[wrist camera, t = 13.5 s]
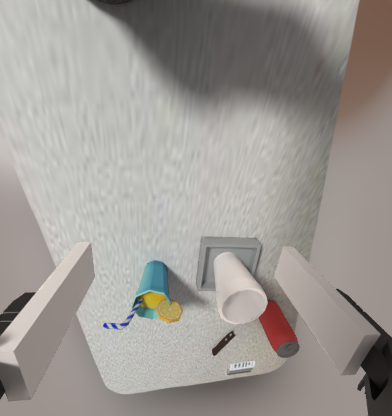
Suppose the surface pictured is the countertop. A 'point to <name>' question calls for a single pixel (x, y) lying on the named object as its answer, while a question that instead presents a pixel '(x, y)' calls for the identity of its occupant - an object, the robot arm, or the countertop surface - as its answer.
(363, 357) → the robot arm
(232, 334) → the kitchen knife
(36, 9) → the countertop surface
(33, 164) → the countertop surface
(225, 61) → the countertop surface
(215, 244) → the tray
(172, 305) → the cup
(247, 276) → the foam cup
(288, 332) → the beer can
